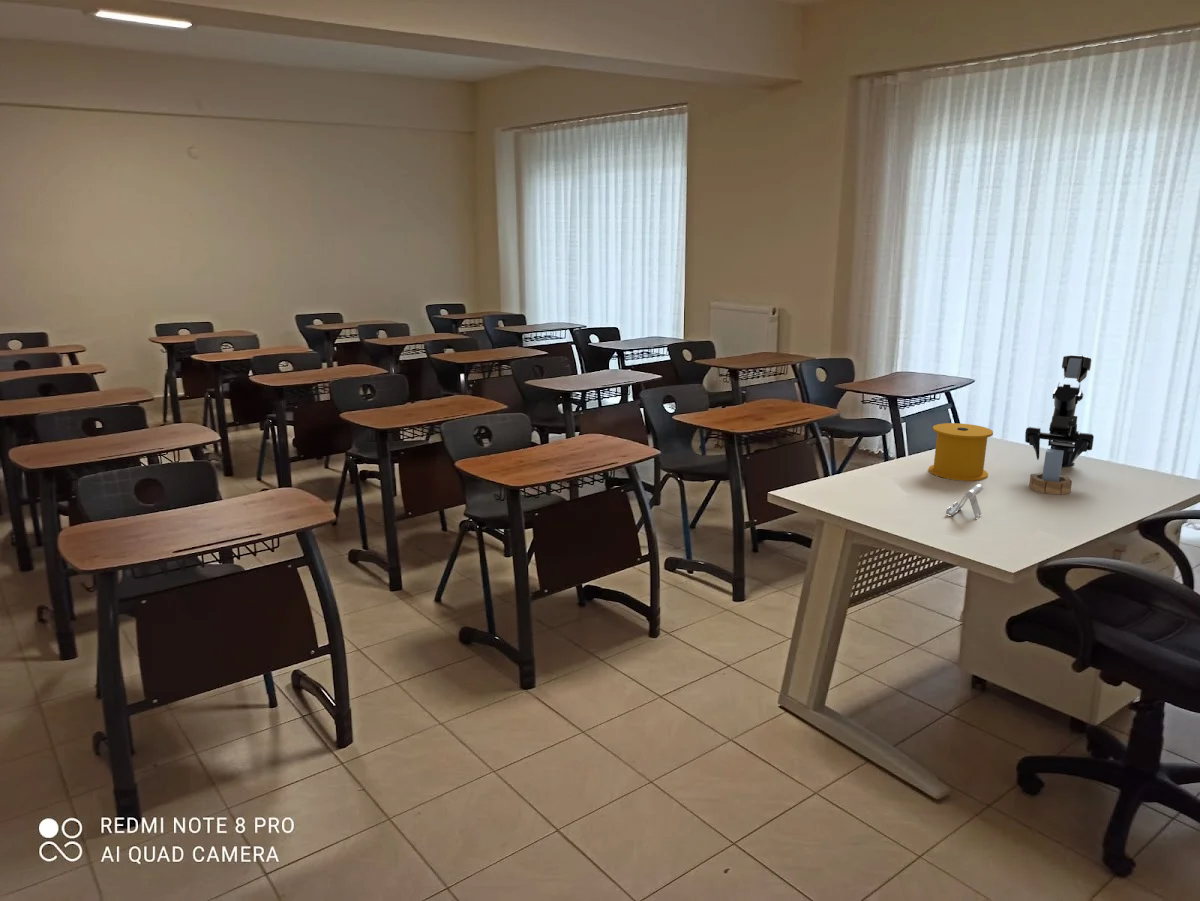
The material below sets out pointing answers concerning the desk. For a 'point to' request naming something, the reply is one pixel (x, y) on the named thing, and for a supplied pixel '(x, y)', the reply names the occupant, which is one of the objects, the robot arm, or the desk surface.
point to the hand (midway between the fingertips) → (1054, 461)
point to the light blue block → (1052, 465)
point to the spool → (960, 451)
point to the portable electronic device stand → (969, 495)
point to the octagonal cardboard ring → (1050, 484)
